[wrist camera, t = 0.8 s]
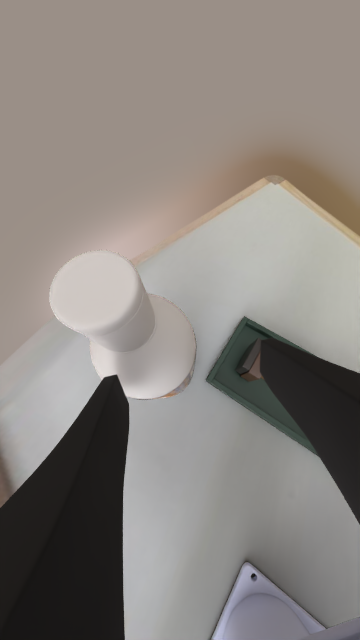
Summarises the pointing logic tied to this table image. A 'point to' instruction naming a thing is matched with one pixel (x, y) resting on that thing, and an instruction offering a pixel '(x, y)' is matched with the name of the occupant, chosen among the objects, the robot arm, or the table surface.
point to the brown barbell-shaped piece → (251, 362)
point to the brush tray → (257, 391)
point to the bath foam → (125, 325)
